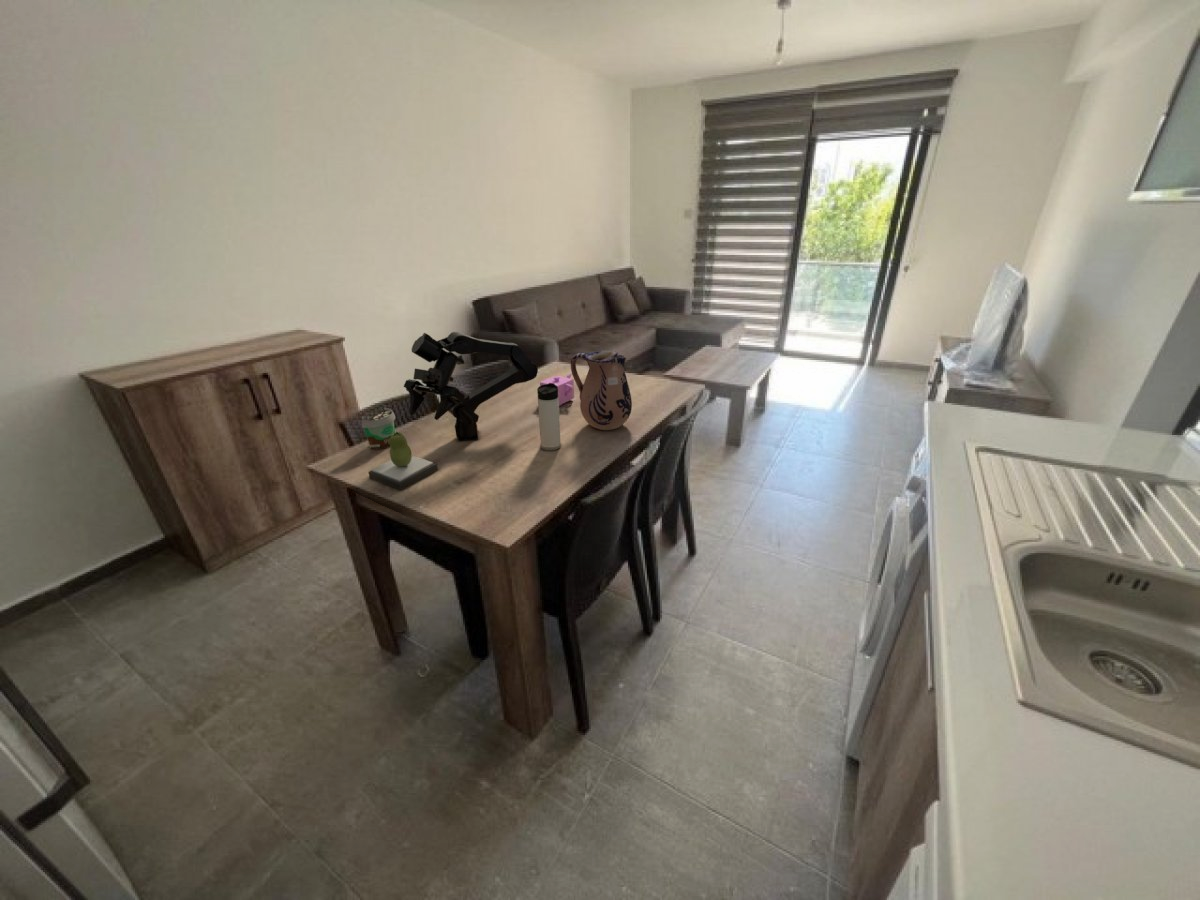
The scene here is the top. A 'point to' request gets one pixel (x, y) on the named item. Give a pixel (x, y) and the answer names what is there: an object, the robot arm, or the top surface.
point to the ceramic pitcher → (603, 389)
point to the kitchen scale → (402, 472)
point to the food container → (380, 429)
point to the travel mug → (549, 416)
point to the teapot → (562, 387)
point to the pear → (399, 450)
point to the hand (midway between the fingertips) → (423, 416)
